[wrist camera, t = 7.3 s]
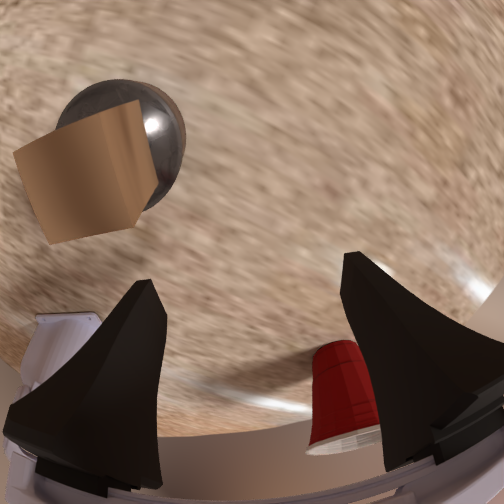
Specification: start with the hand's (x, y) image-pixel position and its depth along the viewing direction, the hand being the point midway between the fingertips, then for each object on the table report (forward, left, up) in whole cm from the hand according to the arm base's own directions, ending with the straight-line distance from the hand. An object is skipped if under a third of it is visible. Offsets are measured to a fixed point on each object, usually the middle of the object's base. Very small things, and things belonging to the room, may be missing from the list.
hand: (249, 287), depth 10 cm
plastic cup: (+8, -22, -10) cm, 25 cm away
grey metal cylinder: (-7, +4, -10) cm, 13 cm away
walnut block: (-7, +4, -7) cm, 11 cm away
